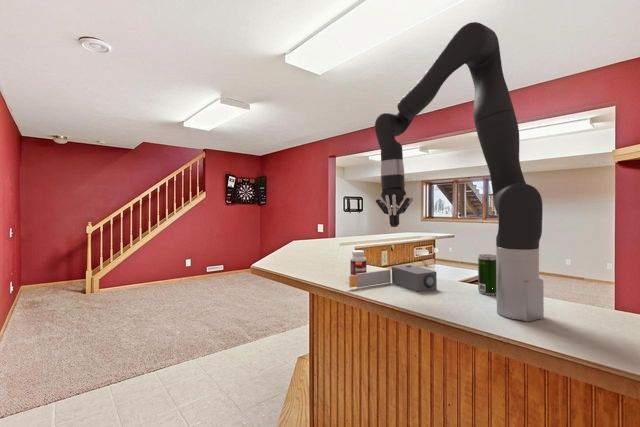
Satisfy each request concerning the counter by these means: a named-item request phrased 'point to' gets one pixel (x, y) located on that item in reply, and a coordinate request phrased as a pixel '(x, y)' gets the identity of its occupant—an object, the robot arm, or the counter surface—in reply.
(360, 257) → the pill bottle
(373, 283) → the grey orange flat panel
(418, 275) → the camera body
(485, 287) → the beer can
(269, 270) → the counter surface
